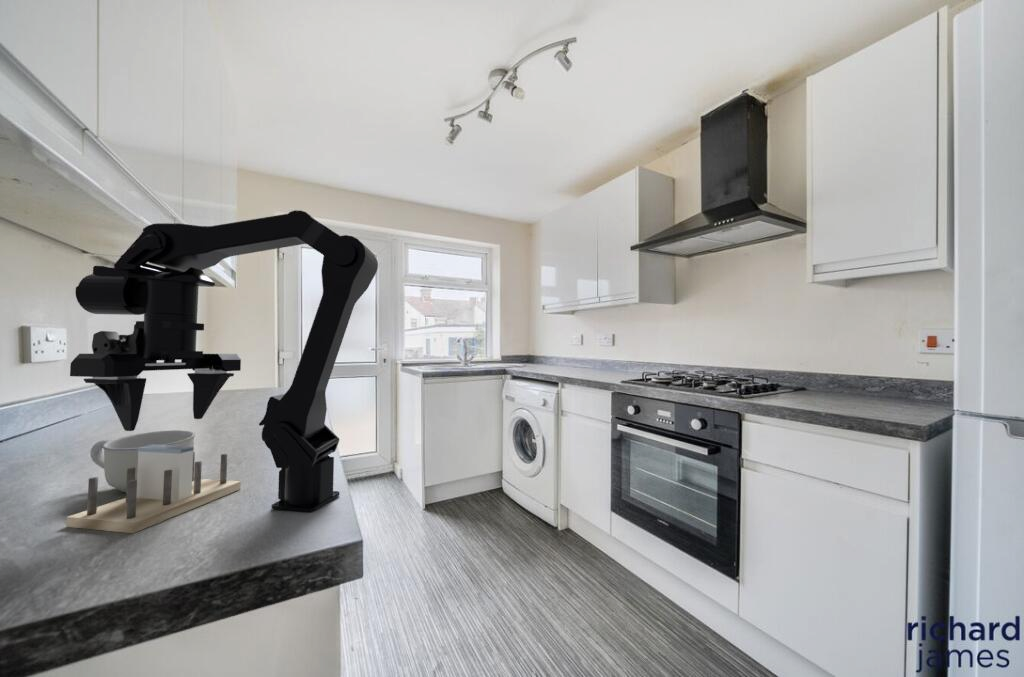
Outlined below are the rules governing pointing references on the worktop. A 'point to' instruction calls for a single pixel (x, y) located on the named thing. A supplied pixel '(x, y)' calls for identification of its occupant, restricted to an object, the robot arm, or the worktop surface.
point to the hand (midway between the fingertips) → (166, 424)
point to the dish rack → (149, 502)
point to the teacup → (132, 452)
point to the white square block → (156, 462)
